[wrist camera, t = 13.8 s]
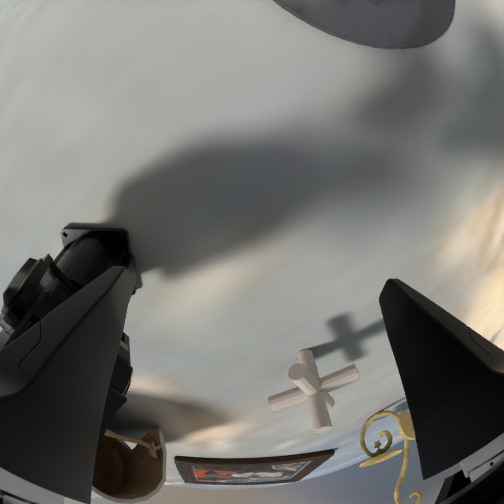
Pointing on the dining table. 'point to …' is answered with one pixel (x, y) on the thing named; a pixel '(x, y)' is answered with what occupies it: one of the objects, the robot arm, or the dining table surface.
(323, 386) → the pipe connector
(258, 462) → the religious icon
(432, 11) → the rosette plate
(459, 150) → the dining table surface
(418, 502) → the wall sconce
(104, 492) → the helmet
